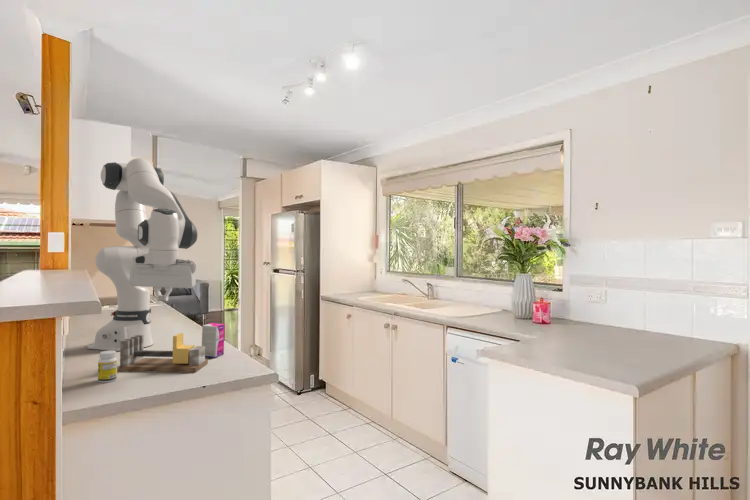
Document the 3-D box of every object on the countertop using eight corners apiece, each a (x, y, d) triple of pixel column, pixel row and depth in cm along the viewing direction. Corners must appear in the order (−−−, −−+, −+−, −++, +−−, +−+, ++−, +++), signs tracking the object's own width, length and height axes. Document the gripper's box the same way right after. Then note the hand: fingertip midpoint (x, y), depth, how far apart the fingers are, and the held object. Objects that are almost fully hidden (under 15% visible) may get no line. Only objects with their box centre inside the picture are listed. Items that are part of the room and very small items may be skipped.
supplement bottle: (100, 378, 125) (100, 350, 125) (118, 377, 127) (118, 349, 127) (96, 383, 121) (96, 354, 121) (115, 382, 123) (115, 353, 122)
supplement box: (215, 358, 150) (216, 326, 150) (200, 357, 151) (201, 325, 151) (224, 354, 155) (225, 323, 155) (210, 353, 157) (210, 322, 156)
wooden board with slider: (119, 371, 133) (119, 341, 133) (136, 362, 143) (137, 334, 143) (195, 372, 133) (195, 342, 133) (207, 363, 143) (208, 335, 143)
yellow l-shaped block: (172, 363, 136) (172, 336, 136) (179, 359, 140) (179, 333, 140) (188, 363, 136) (188, 336, 136) (194, 359, 140) (194, 333, 140)
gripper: (199, 259, 141) (198, 300, 141) (138, 256, 141) (137, 298, 141) (191, 260, 134) (190, 303, 135) (127, 257, 134) (126, 301, 135)
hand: (162, 300), depth 138 cm, fingers closed
